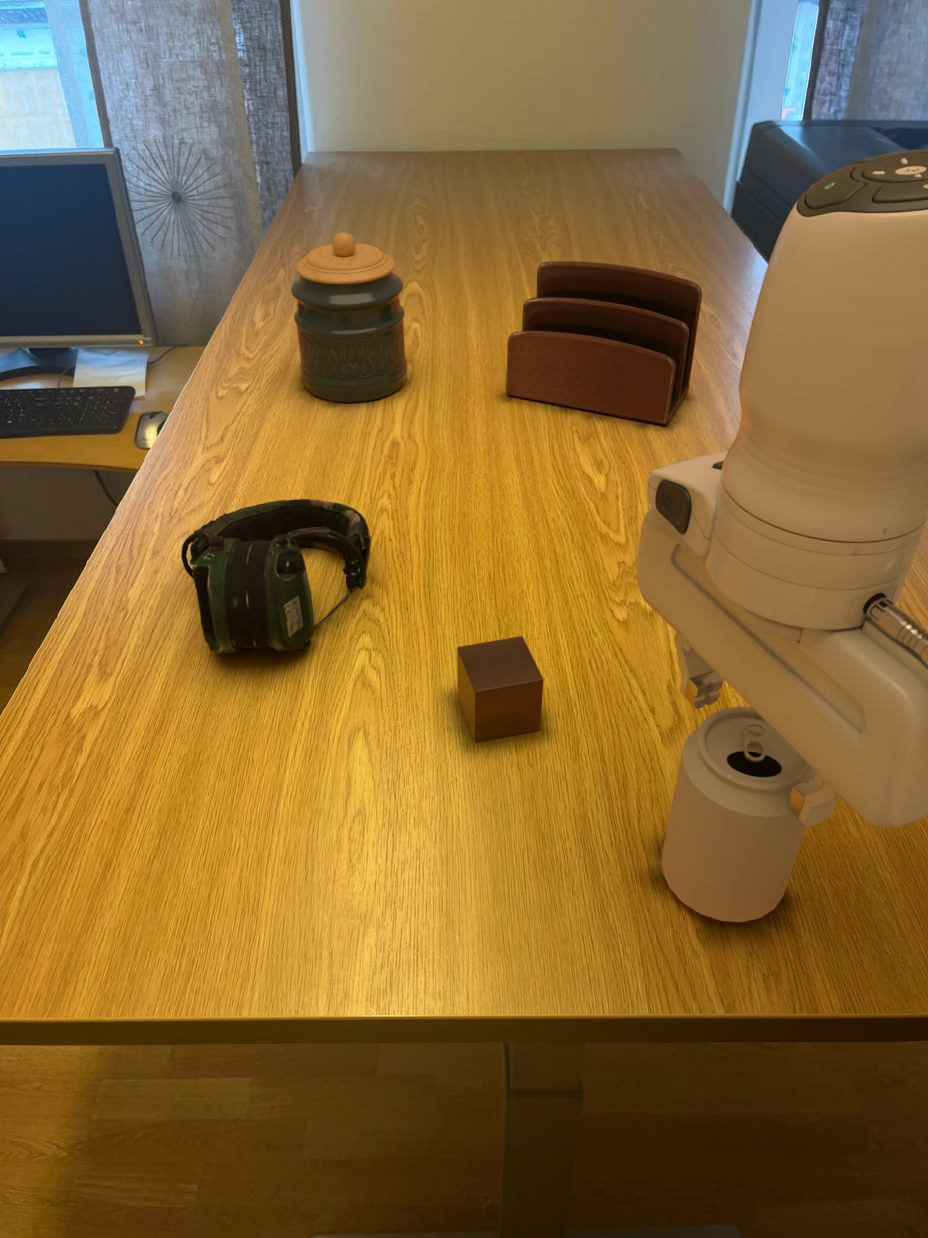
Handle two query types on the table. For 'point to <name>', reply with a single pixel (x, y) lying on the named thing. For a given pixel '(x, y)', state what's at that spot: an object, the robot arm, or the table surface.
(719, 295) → the table surface
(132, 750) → the table surface
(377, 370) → the canister
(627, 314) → the letter holder
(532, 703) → the walnut block
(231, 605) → the headphones
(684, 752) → the can
